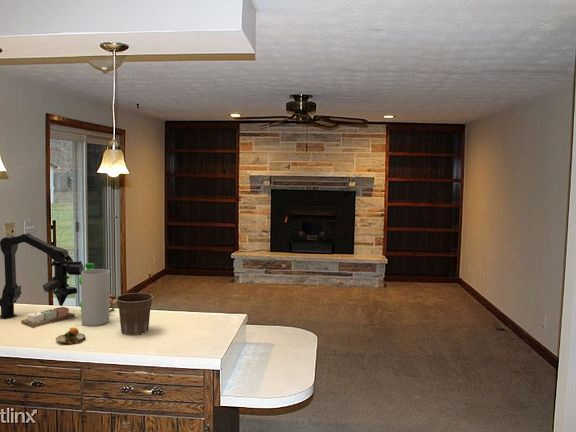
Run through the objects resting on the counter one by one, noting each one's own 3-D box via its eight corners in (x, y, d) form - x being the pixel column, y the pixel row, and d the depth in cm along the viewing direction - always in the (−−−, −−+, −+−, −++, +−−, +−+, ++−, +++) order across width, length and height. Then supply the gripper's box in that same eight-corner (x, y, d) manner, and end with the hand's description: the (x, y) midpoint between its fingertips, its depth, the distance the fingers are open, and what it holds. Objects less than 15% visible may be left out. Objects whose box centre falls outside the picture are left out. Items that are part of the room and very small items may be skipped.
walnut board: (21, 323, 236) (21, 320, 236) (63, 313, 254) (63, 310, 253) (32, 327, 230) (32, 324, 230) (74, 317, 248) (74, 314, 248)
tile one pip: (27, 320, 236) (27, 314, 235) (37, 318, 240) (37, 311, 240) (33, 322, 233) (33, 315, 233) (43, 320, 237) (43, 313, 237)
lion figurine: (109, 316, 251) (109, 299, 250) (98, 316, 250) (98, 299, 249) (115, 308, 265) (115, 292, 265) (104, 308, 265) (104, 292, 264)
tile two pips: (40, 317, 241) (40, 311, 241) (50, 315, 245) (50, 308, 245) (46, 319, 238) (46, 312, 238) (56, 317, 242) (56, 310, 242)
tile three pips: (53, 314, 246) (53, 308, 246) (63, 312, 251) (62, 306, 250) (59, 316, 244) (59, 310, 243) (68, 314, 248) (68, 307, 248)
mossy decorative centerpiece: (66, 335, 222) (66, 319, 221) (91, 337, 220) (91, 321, 219) (49, 344, 210) (49, 327, 209) (75, 347, 208) (74, 329, 207)
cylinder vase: (104, 317, 249) (104, 268, 247) (112, 323, 240) (112, 272, 237) (78, 321, 242) (78, 270, 240) (86, 328, 232) (85, 275, 230)
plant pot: (142, 338, 220) (142, 302, 218) (109, 335, 223) (109, 299, 222) (158, 327, 236) (159, 294, 234) (127, 324, 239) (127, 291, 238)
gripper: (34, 274, 244) (34, 305, 245) (56, 279, 234) (56, 312, 235) (55, 271, 253) (56, 301, 254) (77, 276, 243) (77, 307, 244)
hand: (61, 305), depth 247 cm, fingers closed
